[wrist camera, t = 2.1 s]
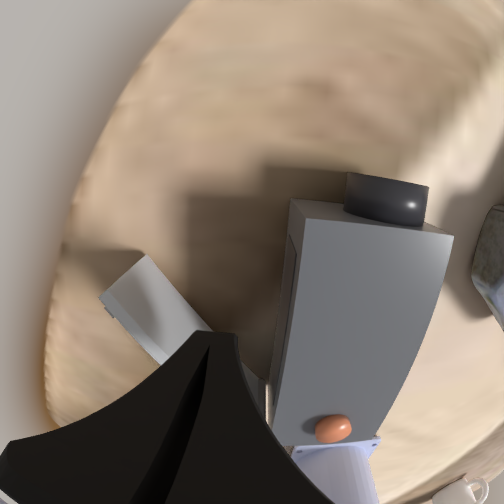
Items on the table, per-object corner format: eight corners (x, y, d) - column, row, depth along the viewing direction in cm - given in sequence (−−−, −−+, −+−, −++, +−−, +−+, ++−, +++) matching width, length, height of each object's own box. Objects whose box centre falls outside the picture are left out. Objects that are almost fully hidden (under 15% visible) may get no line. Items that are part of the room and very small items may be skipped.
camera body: (353, 385, 17) (374, 447, 12) (267, 385, 17) (267, 454, 12) (403, 181, 13) (470, 197, 8) (292, 165, 13) (312, 167, 8)
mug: (473, 466, 26) (489, 503, 16) (484, 465, 27) (499, 497, 17) (424, 499, 29) (435, 535, 19) (440, 496, 30) (451, 528, 20)
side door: (268, 383, 17) (268, 439, 12) (252, 391, 17) (249, 446, 13) (148, 252, 14) (108, 288, 10) (134, 264, 15) (92, 303, 10)
